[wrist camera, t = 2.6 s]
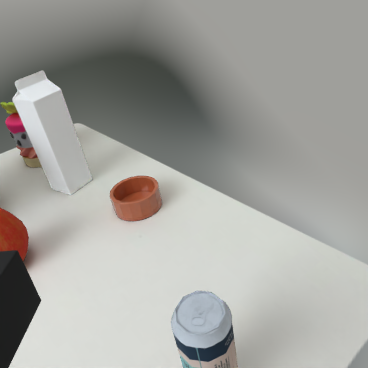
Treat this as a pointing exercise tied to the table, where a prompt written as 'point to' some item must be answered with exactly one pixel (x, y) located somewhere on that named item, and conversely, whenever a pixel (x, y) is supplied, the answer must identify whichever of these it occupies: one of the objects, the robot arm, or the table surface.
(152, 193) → the holder
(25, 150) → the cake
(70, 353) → the table surface
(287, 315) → the table surface
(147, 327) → the table surface
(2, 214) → the apple
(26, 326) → the robot arm
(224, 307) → the beer can
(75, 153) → the milk
